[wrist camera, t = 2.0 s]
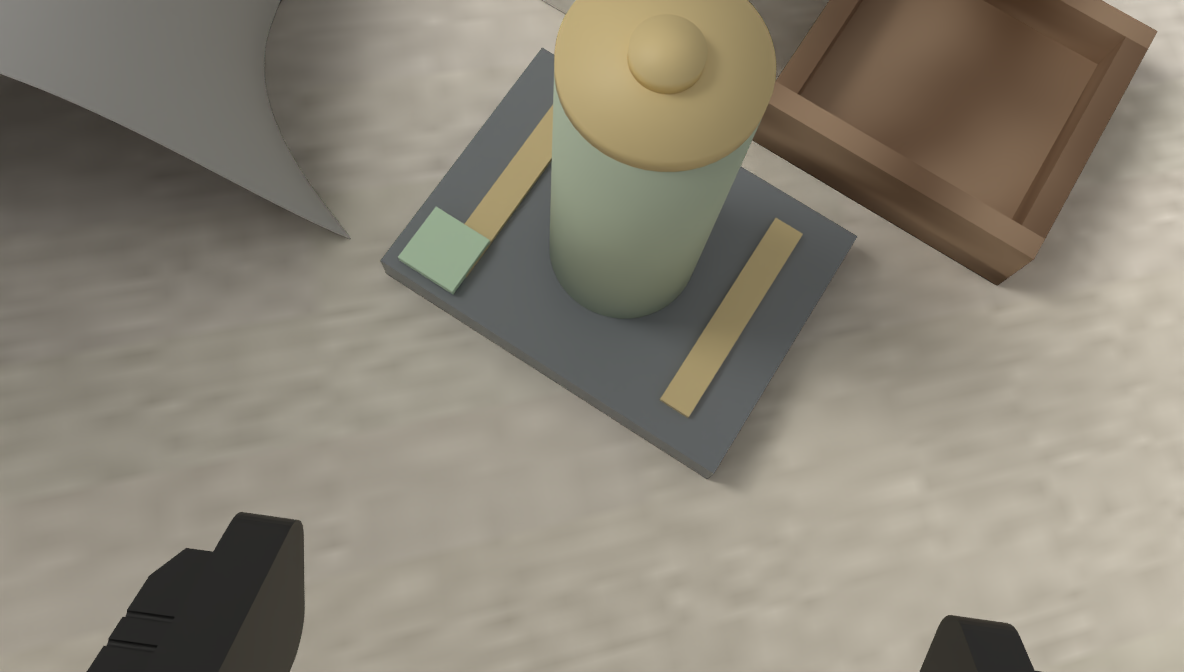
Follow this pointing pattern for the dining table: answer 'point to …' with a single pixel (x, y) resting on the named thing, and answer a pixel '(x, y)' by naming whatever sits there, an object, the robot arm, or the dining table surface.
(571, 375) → the grey board
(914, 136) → the brown wooden tray
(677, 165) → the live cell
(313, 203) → the sculpture
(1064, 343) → the dining table surface
